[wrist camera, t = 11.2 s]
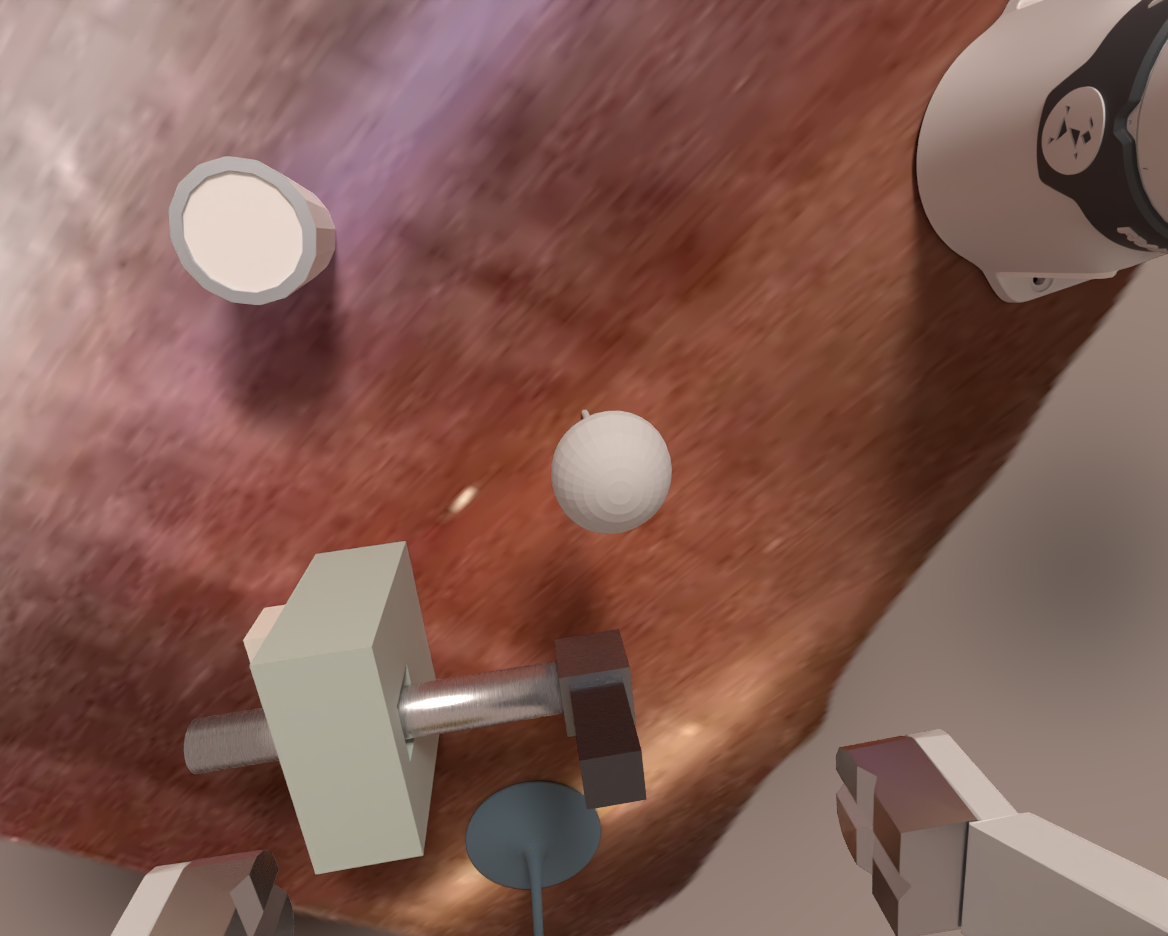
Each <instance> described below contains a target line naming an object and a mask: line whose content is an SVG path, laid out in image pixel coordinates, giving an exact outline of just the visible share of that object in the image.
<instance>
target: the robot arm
mask: <svg viewBox="0 0 1168 936" xmlns="http://www.w3.org/2000/svg"><path fill="white" fill-rule="evenodd" d="M917 181H918V188H919V193H920V197H921V201H922V204H923V207H924V210H925V213H926V215H927V217H928V219H929V221H930V223H931V225H932V227H933V228H934V230H935V231H936V233H937V234H938V235H939V237H940V238H941V239H942V240H943V241H944V242H945V243H946V244H947V245H948V246H949V247H950V248H951V249H952V250H953V251H955V252H956V253H957V254H959V255H960V256H962V257H964V258H965V259H967V260H968V261H970V262H972V263H973V264H975V265H976V266H977V267H979V268H980V269H981V270H982V271H983V273H984V275H985V276H986V278H987V280H988V282H989V284H990V285H991V287H992V289H993V290H994V292H995V293H996V294H997V295H998V297H999V298H1000V299H1002V300H1003V301H1005V302H1009V303H1017V302H1026V301H1029V300H1032V299H1035V298H1038V297H1041V296H1044V295H1047V294H1050V293H1053V292H1056V291H1059V290H1062V289H1065V288H1068V287H1071V286H1074V285H1077V284H1080V283H1083V282H1085V281H1088V280H1091V279H1104V278H1111V277H1113V276H1115V274H1116V273H1117V271H1118V270H1121V269H1125V268H1128V267H1132V266H1134V265H1137V264H1140V263H1143V262H1145V261H1148V260H1151V259H1154V258H1157V257H1159V256H1162V255H1165V254H1168V0H1010V1H1009V2H1008V4H1007V6H1006V8H1005V10H1004V11H1003V13H1002V15H1001V16H1000V18H999V19H998V20H997V21H996V22H995V23H994V24H993V25H992V26H991V27H990V28H989V29H988V30H987V31H985V32H984V33H983V34H982V35H981V36H979V37H978V38H977V39H976V40H975V41H974V42H972V43H971V44H970V45H969V46H968V47H967V48H966V49H965V50H964V51H963V52H962V53H961V54H960V55H959V57H958V58H957V59H956V60H955V61H954V63H953V64H952V65H951V66H950V68H949V69H948V71H947V72H946V73H945V75H944V76H943V78H942V80H941V81H940V83H939V85H938V86H937V88H936V90H935V92H934V94H933V96H932V98H931V101H930V103H929V105H928V108H927V111H926V113H925V116H924V120H923V123H922V127H921V131H920V136H919V141H918V149H917ZM1033 277H1036V278H1037V281H1036V282H1035V283H1034V282H1033ZM836 770H837V772H838V773H839V775H840V777H841V779H842V780H843V782H844V784H843V785H842V787H841V788H840V790H839V791H838V792H837V794H836V799H837V814H838V818H839V823H840V827H841V831H842V834H843V837H844V839H845V842H846V844H847V847H848V849H849V851H850V853H851V855H852V857H853V859H854V861H855V862H856V864H857V865H858V866H859V867H861V868H863V869H864V870H866V871H867V872H869V873H870V874H872V894H873V895H874V897H875V899H876V901H877V902H878V904H879V906H880V908H881V910H882V912H883V913H884V915H885V917H886V919H887V921H888V922H889V924H890V926H891V928H892V930H893V931H894V933H895V935H896V936H920V935H926V934H932V933H939V932H945V931H951V930H957V929H961V933H962V934H963V935H965V936H1168V879H1165V878H1163V877H1161V876H1159V875H1157V874H1155V873H1153V872H1151V871H1149V870H1147V869H1145V868H1143V867H1141V866H1139V865H1137V864H1135V863H1132V862H1131V861H1129V860H1127V859H1124V858H1122V857H1120V856H1118V855H1116V854H1114V853H1112V852H1110V851H1108V850H1106V849H1104V848H1102V847H1100V846H1098V845H1096V844H1094V843H1092V842H1090V841H1088V840H1086V839H1084V838H1082V837H1079V836H1077V835H1075V834H1073V833H1071V832H1069V831H1067V830H1065V829H1063V828H1061V827H1059V826H1057V825H1055V824H1053V823H1051V822H1049V821H1047V820H1044V819H1043V818H1041V817H1039V816H1036V815H1034V814H1032V813H1030V812H1026V813H1020V814H1019V813H1017V811H1016V810H1015V809H1014V808H1013V807H1012V805H1011V804H1010V803H1009V802H1008V801H1007V800H1006V799H1005V798H1004V796H1003V795H1002V794H1001V793H1000V792H999V791H998V790H997V789H996V787H995V786H994V785H993V784H992V783H991V782H990V781H989V779H988V778H987V777H986V776H985V775H984V774H983V773H982V772H981V770H980V769H979V768H978V767H977V766H976V765H975V764H974V763H973V762H972V760H971V759H970V758H969V757H968V756H967V755H966V754H965V752H964V751H963V750H962V749H961V748H960V747H959V746H958V744H957V743H956V742H955V741H954V740H953V739H952V738H951V737H950V735H949V734H948V733H947V732H945V731H943V730H941V729H934V730H929V731H924V732H919V733H913V734H908V735H906V736H898V737H893V738H887V739H883V740H877V741H871V742H866V743H861V744H856V745H850V746H845V747H840V748H839V749H838V752H837V755H836ZM278 870H279V868H278V866H277V863H276V861H275V858H274V856H273V854H272V851H268V850H258V851H252V852H245V853H238V854H232V855H225V856H219V857H212V858H205V859H199V860H193V861H192V862H185V863H178V864H171V865H164V866H157V867H155V868H154V869H153V870H151V871H150V872H149V873H148V874H147V875H145V877H144V878H143V880H142V882H141V883H140V885H139V887H138V889H137V890H136V892H135V894H134V896H133V898H132V900H131V901H130V903H129V904H128V906H127V908H126V910H125V911H124V913H123V915H122V917H121V919H120V920H119V922H118V923H117V925H116V927H115V929H114V931H113V932H112V934H111V936H293V933H294V918H293V909H292V905H291V902H290V899H289V896H288V893H287V892H285V891H284V890H282V889H281V888H279V887H278V886H276V885H275V884H274V881H275V878H276V876H277V873H278Z"/></svg>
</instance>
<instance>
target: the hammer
mask: <svg viewBox="0 0 1168 936" xmlns="http://www.w3.org/2000/svg"><path fill="white" fill-rule="evenodd" d="M554 642H555V651H556V659H557V661H553V662H546V663H540V664H534V665H528V666H521V667H515V668H509V669H503V670H496V671H490V672H484V673H478V674H471V675H465V676H459V677H453V678H446V679H440V680H434V681H428V682H421V683H415V684H409V685H403V686H401V690H400V695H399V699H398V703H397V709H398V713H399V718H400V722H401V726H402V730H403V734H404V738H405V739H411V738H417V737H423V736H429V735H435V734H441V733H447V732H454V731H460V730H466V729H472V728H478V727H484V726H490V725H496V724H502V723H508V722H514V721H520V720H526V719H532V718H538V717H545V716H551V715H557V714H563V713H564V717H565V724H566V730H567V737H571V736H576V739H577V746H578V753H579V760H580V767H581V774H582V781H583V788H584V795H585V802H586V809H587V810H588V809H594V808H600V807H606V806H611V805H617V804H623V803H629V802H634V801H640V800H646V790H645V781H644V771H643V762H642V752H641V747H640V744H639V740H638V736H637V732H636V728H635V726H636V722H635V712H634V703H633V694H632V684H631V675H630V667H629V663H628V660H627V656H626V653H625V649H624V646H623V642H622V639H621V635H620V632H619V629H616V630H610V631H604V632H597V633H591V634H585V635H578V636H572V637H566V638H559V639H554ZM184 756H185V761H186V764H187V767H188V768H189V770H190V771H191V772H192V773H194V774H199V773H205V772H211V771H217V770H223V769H229V768H235V767H241V766H247V765H253V764H259V763H265V762H271V761H278V760H279V757H278V754H277V751H276V748H275V745H274V741H273V738H272V735H271V732H270V729H269V726H268V722H267V719H266V716H265V713H264V710H263V708H259V709H252V710H246V711H240V712H234V713H227V714H221V715H215V716H209V717H202V718H196V719H194V720H193V721H192V722H191V723H190V725H189V727H188V729H187V732H186V735H185V741H184Z"/></svg>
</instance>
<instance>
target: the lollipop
mask: <svg viewBox="0 0 1168 936" xmlns="http://www.w3.org/2000/svg"><path fill="white" fill-rule="evenodd" d="M581 414H582V417H583V420H581V421H580V422H578V423H577V424H575V425H574V426H572V427H571V428H570V429H569V430H568V431H567V432H566V433H565V434H564V436H563V437H562V439H561V440H560V442H559V443H558V446H557V448H556V450H555V453H554V456H553V461H552V467H551V480H552V485H553V490H554V493H555V496H556V498H557V500H558V502H559V504H560V506H561V508H562V509H563V511H564V512H565V513H566V515H567V516H568V517H569V518H570V519H571V520H572V521H574V522H575V523H576V524H578V525H579V526H581V527H583V528H584V529H587V530H590V531H593V532H596V533H603V534H617V533H621V532H626V531H629V530H631V529H634V528H636V527H638V526H640V525H641V524H643V523H644V522H646V521H647V520H649V519H650V518H651V517H652V516H653V515H654V514H655V513H656V512H657V511H658V510H659V508H660V507H661V506H662V504H663V503H664V500H665V498H666V496H667V494H668V491H669V487H670V483H671V473H672V466H671V459H670V455H669V452H668V449H667V447H666V444H665V442H664V440H663V438H662V437H661V435H660V434H659V432H658V431H657V430H656V429H655V428H654V427H653V426H652V425H651V424H650V423H649V422H647V421H646V420H644V419H643V418H641V417H639V416H637V415H634V414H632V413H628V412H623V411H605V412H600V413H596V414H593V415H591V416H590V415H589V413H588V411H587V410H583V411H582V412H581Z"/></svg>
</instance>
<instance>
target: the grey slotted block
mask: <svg viewBox="0 0 1168 936" xmlns="http://www.w3.org/2000/svg"><path fill="white" fill-rule="evenodd" d="M250 669H251V672H252V675H253V678H254V681H255V685H256V688H257V691H258V694H259V697H260V700H261V703H262V707H263V710H264V713H265V716H266V719H267V722H268V726H269V729H270V732H271V735H272V738H273V741H274V745H275V748H276V751H277V754H278V757H279V760H280V763H281V767H282V770H283V773H284V776H285V779H286V782H287V786H288V789H289V792H290V795H291V798H292V801H293V804H294V808H295V811H296V814H297V817H298V820H299V823H300V827H301V830H302V833H303V836H304V839H305V842H306V846H307V849H308V852H309V855H310V858H311V861H312V864H313V868H314V871H315V874H321V873H327V872H332V871H338V870H344V869H349V868H355V867H361V866H366V865H372V864H378V863H383V862H389V861H395V860H401V859H406V858H412V857H418V856H423V853H424V846H425V838H426V831H427V823H428V816H429V808H430V800H431V793H432V785H433V778H434V770H435V763H436V755H437V748H438V740H439V734H435V735H429V736H423V737H417V738H411V739H405V738H404V734H403V730H402V726H401V722H400V718H399V713H398V709H397V703H398V699H399V695H400V690H401V686H403V685H409V684H415V683H421V682H428V681H434V680H436V678H435V673H434V669H433V664H432V659H431V655H430V650H429V645H428V641H427V636H426V632H425V627H424V622H423V618H422V613H421V608H420V604H419V599H418V595H417V590H416V585H415V581H414V576H413V571H412V567H411V562H410V557H409V553H408V548H407V544H406V541H402V542H395V543H388V544H382V545H375V546H368V547H361V548H354V549H347V550H341V551H334V552H327V553H320V554H316V555H315V556H314V558H313V560H312V561H311V563H310V565H309V566H308V568H307V570H306V571H305V573H304V575H303V576H302V578H301V580H300V581H299V583H298V585H297V586H296V588H295V590H294V592H293V593H292V595H291V597H290V598H289V600H288V602H287V603H286V605H285V607H284V608H283V610H282V612H281V613H280V615H279V617H278V618H277V620H276V622H275V623H274V625H273V627H272V629H271V630H270V632H269V634H268V635H267V637H266V639H265V640H264V642H263V644H262V645H261V647H260V649H259V650H258V652H257V654H256V655H255V657H254V659H253V660H252V662H251V664H250Z"/></svg>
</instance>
